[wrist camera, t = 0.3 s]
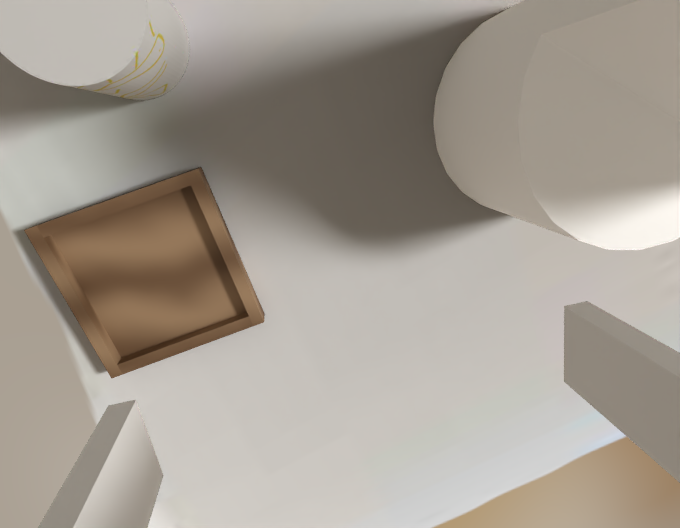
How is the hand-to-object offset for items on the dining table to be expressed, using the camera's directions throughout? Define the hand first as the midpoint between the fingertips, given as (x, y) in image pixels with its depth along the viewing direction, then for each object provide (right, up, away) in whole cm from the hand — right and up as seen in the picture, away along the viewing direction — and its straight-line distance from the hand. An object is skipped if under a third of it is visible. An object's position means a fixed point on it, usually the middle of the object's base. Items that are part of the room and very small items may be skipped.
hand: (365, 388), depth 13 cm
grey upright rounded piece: (-16, +20, +20) cm, 33 cm away
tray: (-17, +3, +25) cm, 30 cm away
